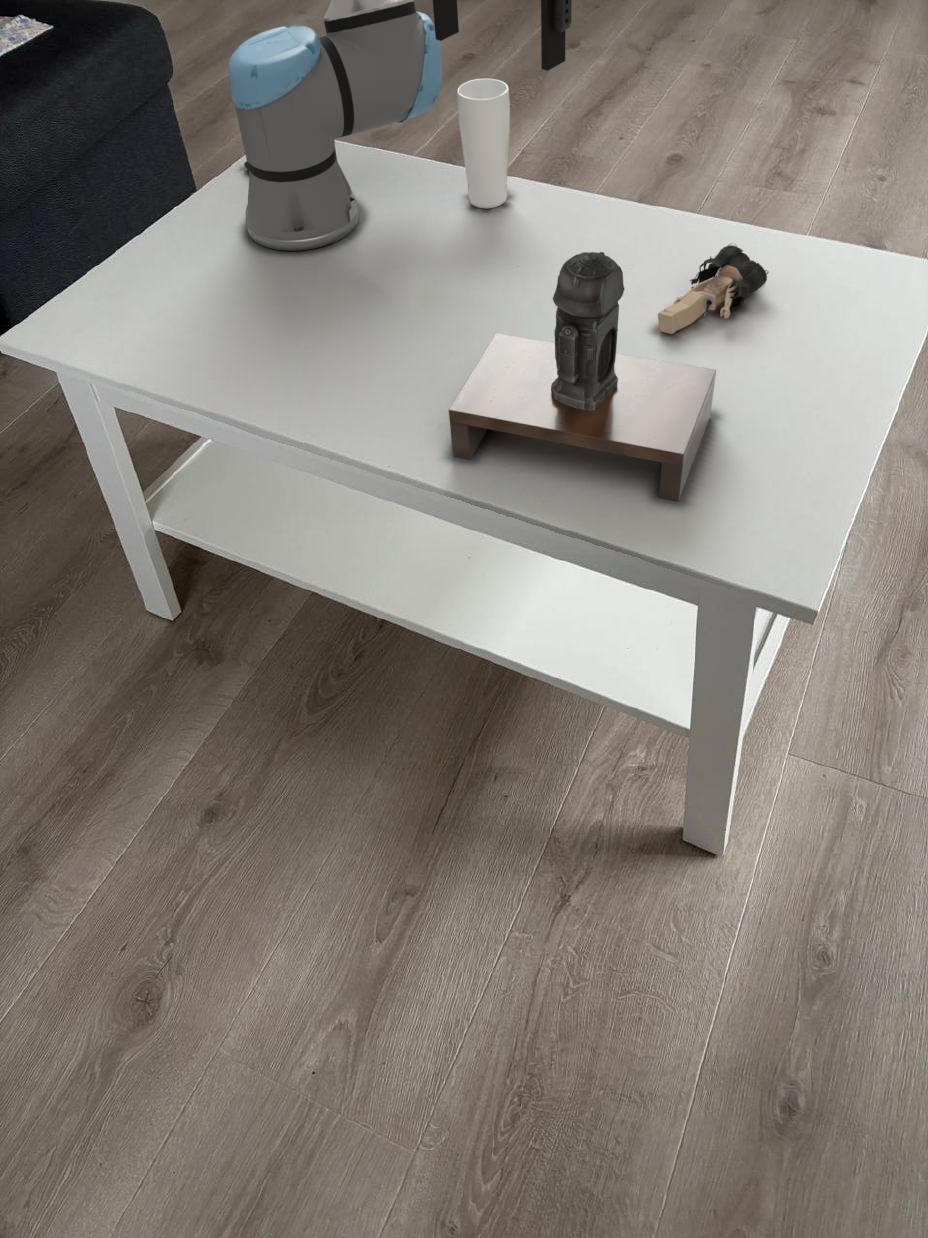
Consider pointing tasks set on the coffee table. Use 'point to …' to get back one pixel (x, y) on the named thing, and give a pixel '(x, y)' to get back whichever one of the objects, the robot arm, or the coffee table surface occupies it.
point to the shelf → (623, 423)
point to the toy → (586, 329)
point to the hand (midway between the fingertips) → (498, 50)
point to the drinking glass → (485, 139)
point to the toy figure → (715, 289)
